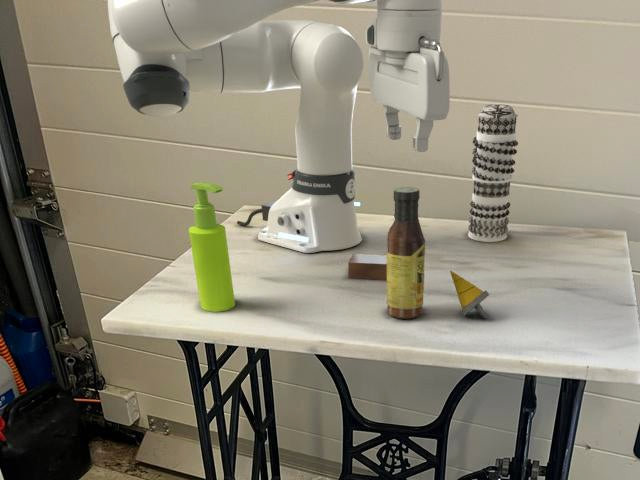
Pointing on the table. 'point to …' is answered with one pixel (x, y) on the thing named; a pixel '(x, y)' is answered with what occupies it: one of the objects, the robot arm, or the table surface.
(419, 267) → the sauce bottle
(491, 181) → the decorative candle
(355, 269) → the plywood offcut
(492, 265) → the table surface
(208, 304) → the lime green necked cylinder
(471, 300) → the yellow tipped cone
